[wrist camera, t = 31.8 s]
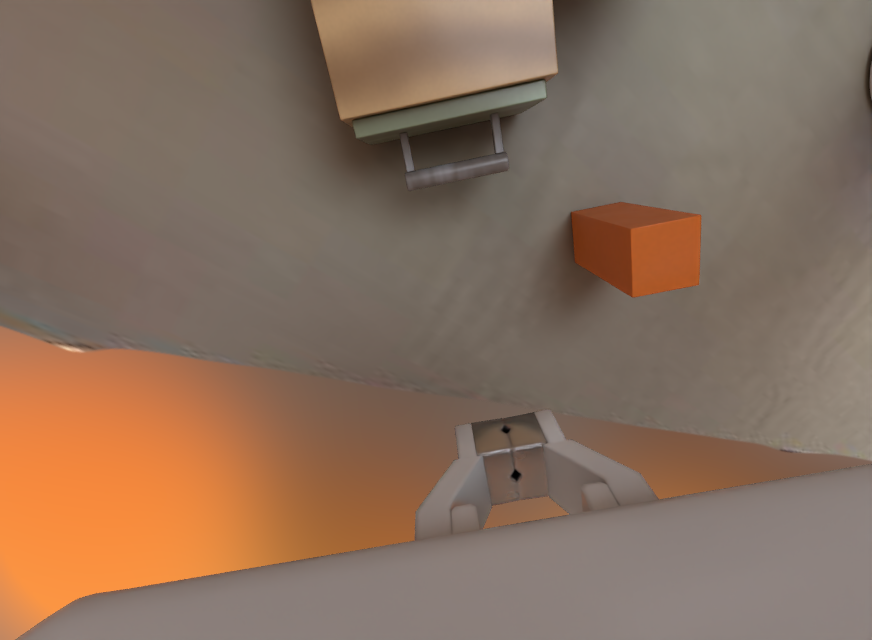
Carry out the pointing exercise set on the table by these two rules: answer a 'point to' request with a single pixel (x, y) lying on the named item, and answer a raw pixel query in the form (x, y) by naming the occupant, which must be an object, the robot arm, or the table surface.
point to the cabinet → (431, 50)
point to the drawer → (451, 116)
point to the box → (638, 247)
